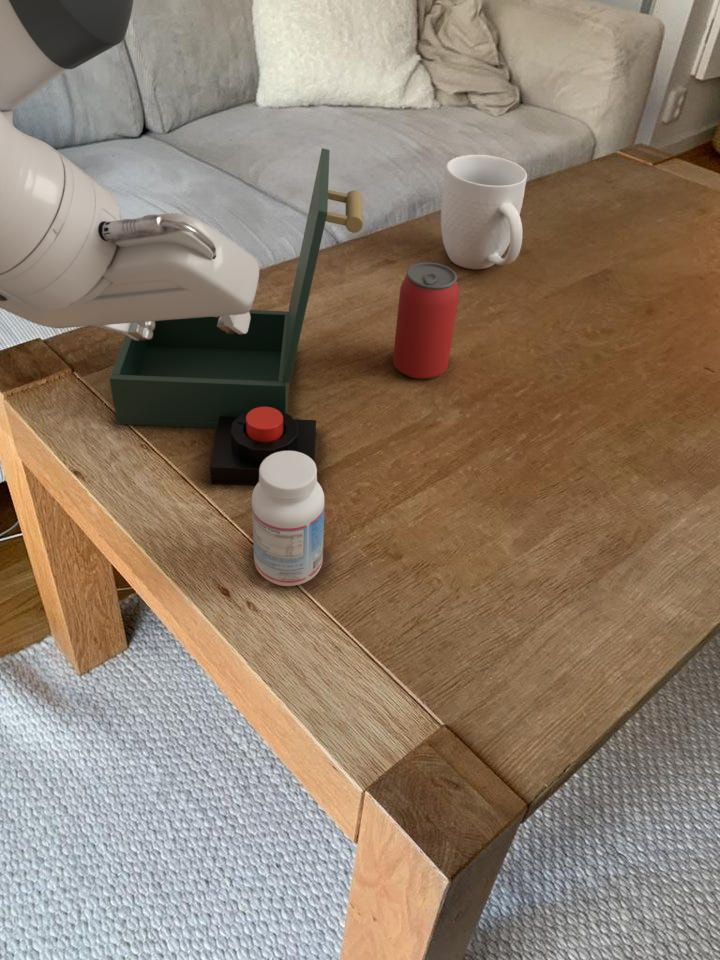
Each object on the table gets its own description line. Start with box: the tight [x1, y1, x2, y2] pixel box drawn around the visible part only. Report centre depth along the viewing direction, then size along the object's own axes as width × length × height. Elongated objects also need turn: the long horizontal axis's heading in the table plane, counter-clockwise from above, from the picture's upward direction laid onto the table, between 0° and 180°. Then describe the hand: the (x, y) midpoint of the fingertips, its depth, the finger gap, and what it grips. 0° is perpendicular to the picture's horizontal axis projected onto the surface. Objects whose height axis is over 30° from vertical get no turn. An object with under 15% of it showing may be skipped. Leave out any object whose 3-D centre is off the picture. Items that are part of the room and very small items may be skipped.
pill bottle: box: [251, 451, 326, 587], centre depth 69 cm, size 6×6×11 cm
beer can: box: [392, 261, 460, 380], centre depth 93 cm, size 7×7×12 cm
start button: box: [246, 407, 283, 442], centre depth 80 cm, size 4×4×2 cm
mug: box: [440, 154, 528, 270], centre depth 113 cm, size 15×11×13 cm
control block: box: [209, 410, 317, 486], centre depth 82 cm, size 10×8×4 cm
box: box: [109, 309, 291, 429], centre depth 90 cm, size 18×15×6 cm
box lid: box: [282, 147, 364, 384], centre depth 82 cm, size 18×15×5 cm
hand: (192, 328), depth 63 cm, fingers open, 8 cm apart
